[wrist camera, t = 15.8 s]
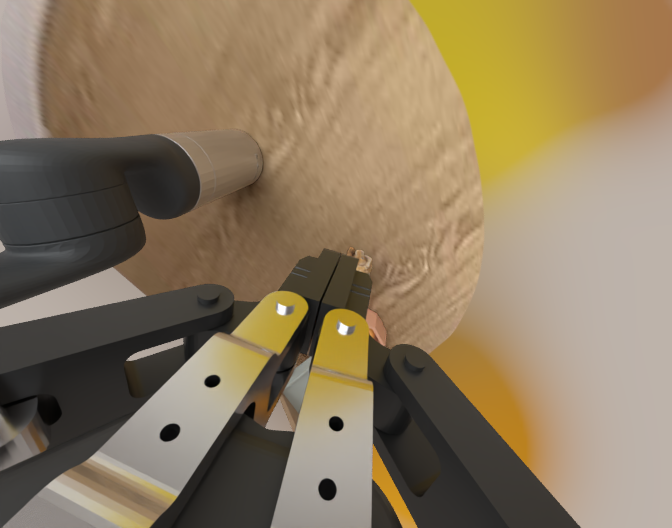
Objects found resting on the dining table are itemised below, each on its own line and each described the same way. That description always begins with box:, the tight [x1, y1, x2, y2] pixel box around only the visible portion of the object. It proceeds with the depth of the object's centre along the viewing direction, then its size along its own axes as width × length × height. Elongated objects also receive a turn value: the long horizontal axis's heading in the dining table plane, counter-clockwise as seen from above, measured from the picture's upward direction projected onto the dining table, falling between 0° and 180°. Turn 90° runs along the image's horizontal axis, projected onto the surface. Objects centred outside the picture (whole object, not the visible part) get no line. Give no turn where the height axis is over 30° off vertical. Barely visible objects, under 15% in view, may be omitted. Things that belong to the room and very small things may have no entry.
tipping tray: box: [280, 357, 312, 432], centre depth 45 cm, size 13×8×16 cm
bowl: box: [366, 309, 386, 346], centre depth 58 cm, size 11×11×5 cm
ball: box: [369, 328, 375, 338], centre depth 57 cm, size 4×4×4 cm
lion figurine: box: [347, 247, 373, 275], centre depth 50 cm, size 15×5×9 cm, turn 118°
